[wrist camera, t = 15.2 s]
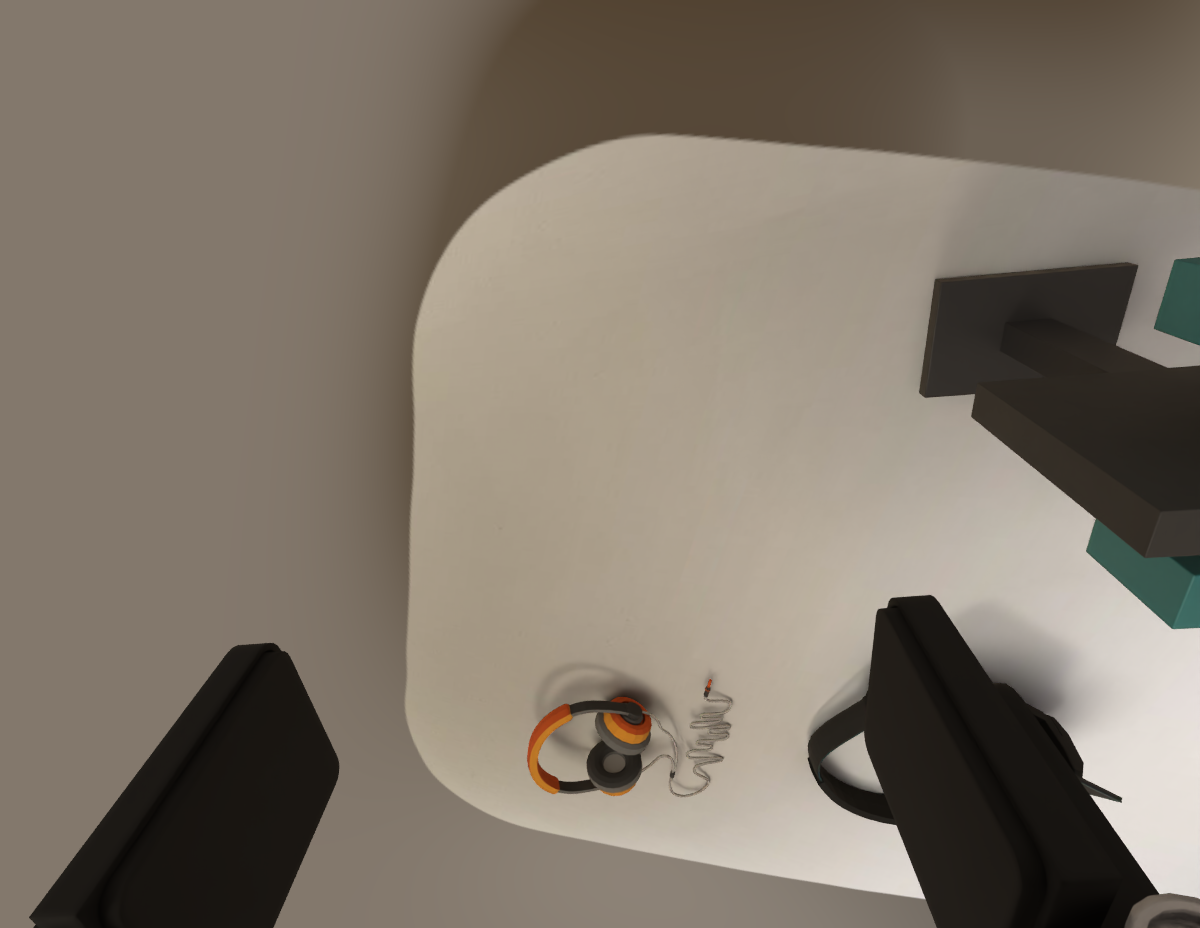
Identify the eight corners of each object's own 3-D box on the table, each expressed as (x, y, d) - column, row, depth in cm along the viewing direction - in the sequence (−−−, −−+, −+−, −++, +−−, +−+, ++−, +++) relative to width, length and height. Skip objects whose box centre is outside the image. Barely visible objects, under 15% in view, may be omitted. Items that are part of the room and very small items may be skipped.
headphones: (719, 818, 64) (521, 838, 59) (702, 771, 68) (517, 786, 64) (763, 700, 56) (540, 712, 52) (740, 656, 61) (533, 664, 56)
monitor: (903, 282, 42) (1189, 432, 21) (1161, 259, 41) (1751, 394, 19) (889, 395, 45) (1121, 622, 24) (1126, 377, 44) (1590, 601, 23)
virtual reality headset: (1091, 703, 57) (1158, 818, 49) (906, 796, 69) (935, 900, 61) (935, 619, 53) (980, 729, 45) (768, 733, 65) (780, 836, 57)
